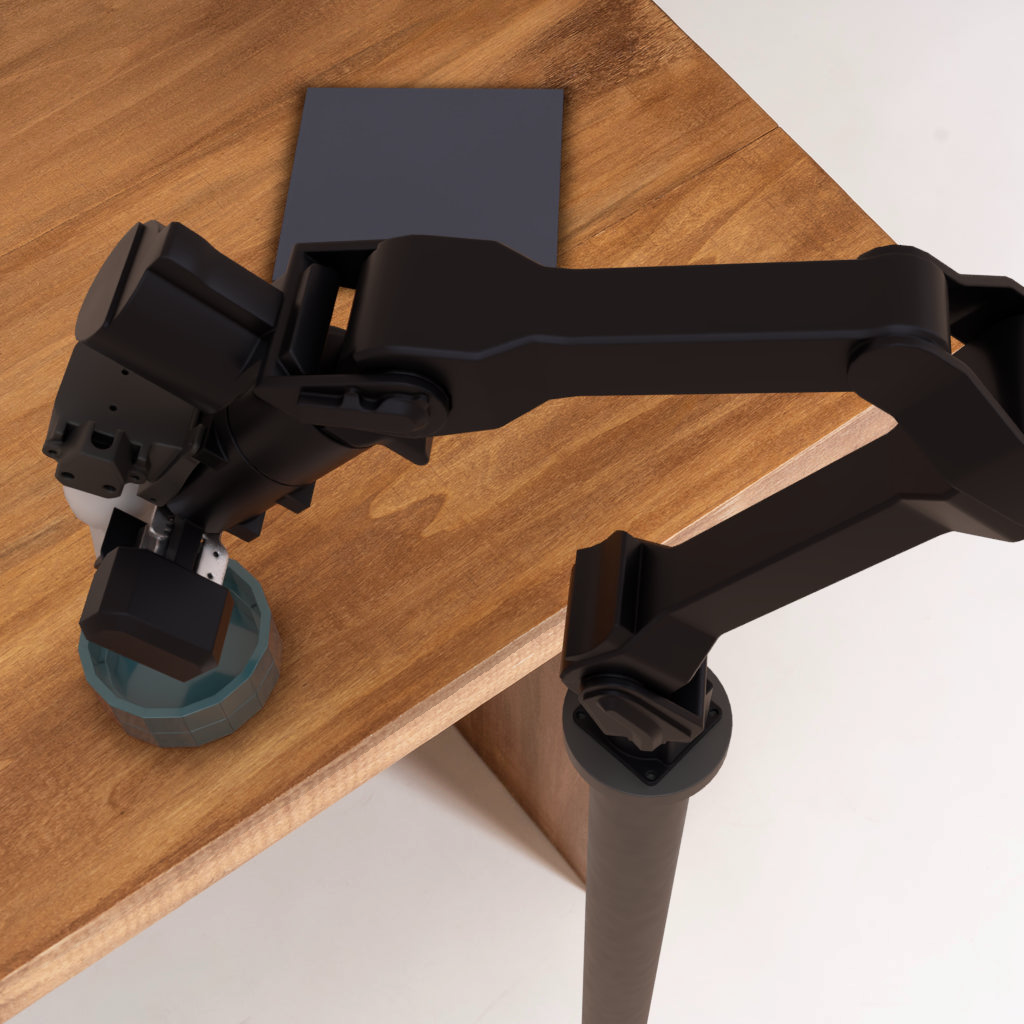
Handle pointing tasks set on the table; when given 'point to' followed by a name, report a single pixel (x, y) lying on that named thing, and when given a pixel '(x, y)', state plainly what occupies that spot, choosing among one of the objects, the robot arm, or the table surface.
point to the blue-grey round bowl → (204, 699)
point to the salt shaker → (106, 509)
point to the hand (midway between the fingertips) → (112, 538)
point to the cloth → (427, 167)
